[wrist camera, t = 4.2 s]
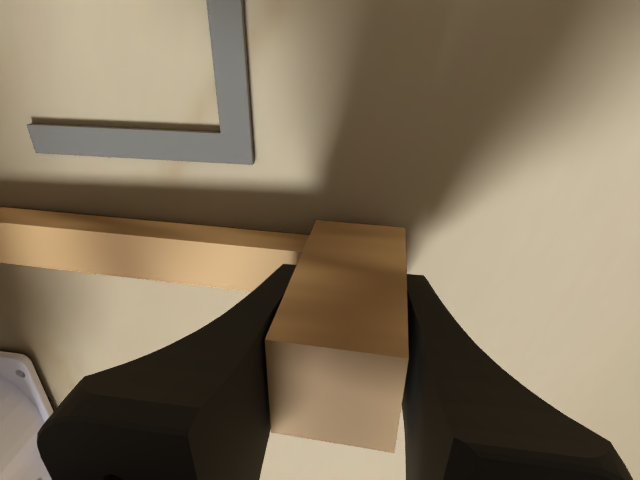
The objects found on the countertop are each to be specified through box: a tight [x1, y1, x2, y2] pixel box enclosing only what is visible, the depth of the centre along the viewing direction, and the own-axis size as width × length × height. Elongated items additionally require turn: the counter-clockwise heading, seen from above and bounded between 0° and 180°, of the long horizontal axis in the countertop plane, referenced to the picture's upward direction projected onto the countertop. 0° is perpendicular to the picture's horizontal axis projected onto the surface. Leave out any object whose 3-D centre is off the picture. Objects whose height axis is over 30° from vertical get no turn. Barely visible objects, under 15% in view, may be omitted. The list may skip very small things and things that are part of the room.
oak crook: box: [0, 207, 409, 453], centre depth 12 cm, size 20×9×6 cm, turn 90°
